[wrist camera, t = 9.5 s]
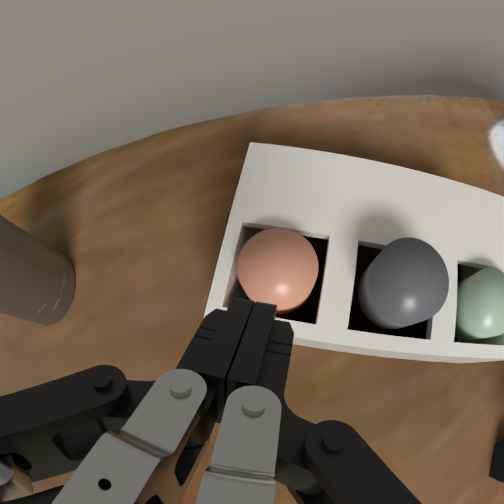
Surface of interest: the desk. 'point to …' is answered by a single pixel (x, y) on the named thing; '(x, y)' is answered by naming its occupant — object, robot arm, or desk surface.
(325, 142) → the desk surface
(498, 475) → the watch
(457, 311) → the sage button
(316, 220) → the button console
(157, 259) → the desk surface
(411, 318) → the charcoal button
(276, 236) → the terracotta button
